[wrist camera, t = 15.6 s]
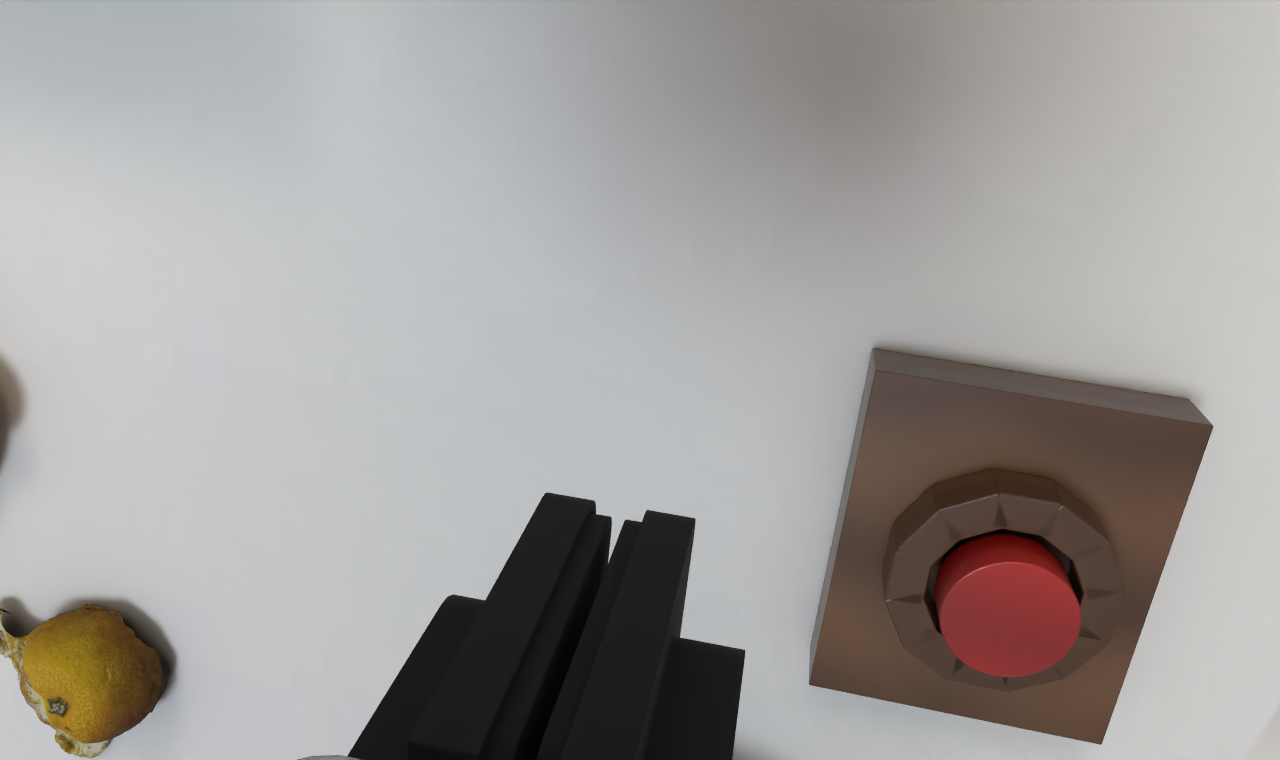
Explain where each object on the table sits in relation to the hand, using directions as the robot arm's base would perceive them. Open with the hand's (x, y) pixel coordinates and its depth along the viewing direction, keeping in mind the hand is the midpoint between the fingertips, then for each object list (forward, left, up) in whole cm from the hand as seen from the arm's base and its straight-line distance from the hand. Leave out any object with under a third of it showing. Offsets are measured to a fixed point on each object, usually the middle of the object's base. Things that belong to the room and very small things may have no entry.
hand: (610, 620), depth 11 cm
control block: (+10, +9, -23) cm, 27 cm away
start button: (+10, +9, -19) cm, 24 cm away
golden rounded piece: (+24, -27, -23) cm, 42 cm away
